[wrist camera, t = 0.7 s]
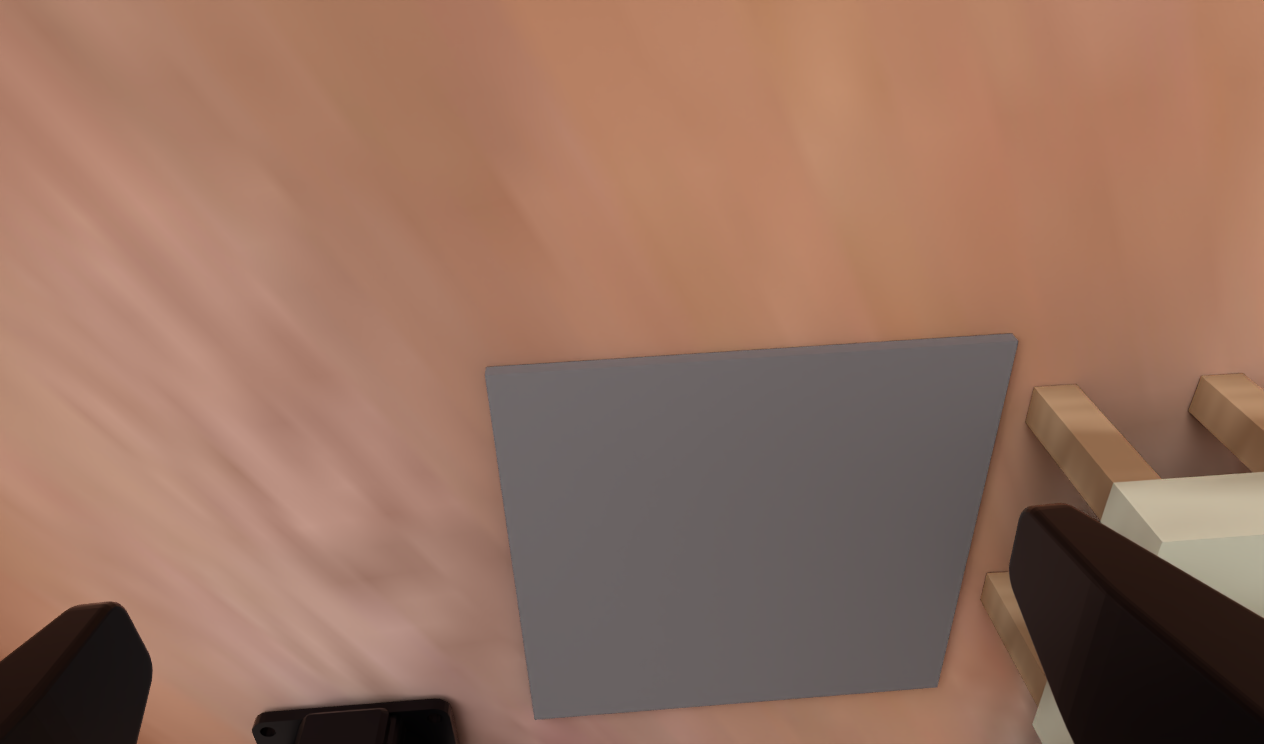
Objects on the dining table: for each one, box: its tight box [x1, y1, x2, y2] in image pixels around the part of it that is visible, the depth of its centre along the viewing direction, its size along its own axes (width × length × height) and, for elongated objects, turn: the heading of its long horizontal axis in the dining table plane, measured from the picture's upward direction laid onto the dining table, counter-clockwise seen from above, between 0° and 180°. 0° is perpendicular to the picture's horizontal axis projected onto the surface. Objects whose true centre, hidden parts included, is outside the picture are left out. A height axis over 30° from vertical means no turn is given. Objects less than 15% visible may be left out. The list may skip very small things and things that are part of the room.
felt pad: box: [485, 333, 1018, 720], centre depth 27 cm, size 14×14×1 cm
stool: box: [980, 373, 1264, 744], centre depth 24 cm, size 9×6×6 cm
